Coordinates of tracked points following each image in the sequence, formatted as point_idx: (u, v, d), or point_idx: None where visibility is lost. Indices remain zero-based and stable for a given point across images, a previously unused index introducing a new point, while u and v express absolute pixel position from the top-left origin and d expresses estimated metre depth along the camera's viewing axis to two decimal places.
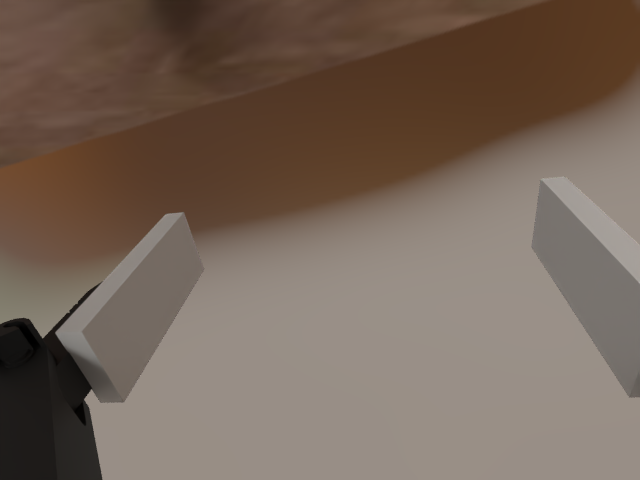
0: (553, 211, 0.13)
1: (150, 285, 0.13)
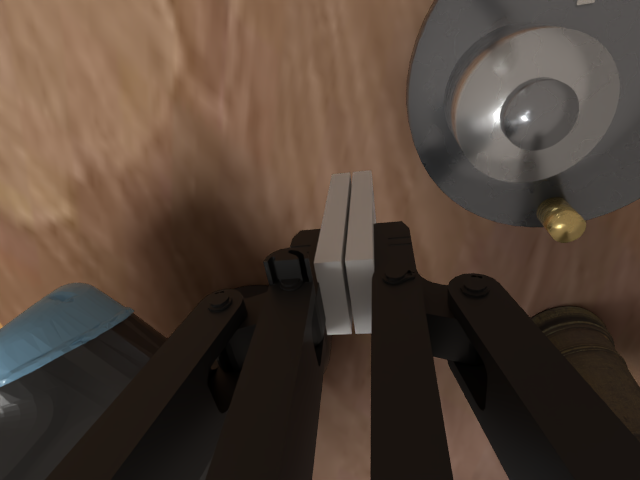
0: None
1: None
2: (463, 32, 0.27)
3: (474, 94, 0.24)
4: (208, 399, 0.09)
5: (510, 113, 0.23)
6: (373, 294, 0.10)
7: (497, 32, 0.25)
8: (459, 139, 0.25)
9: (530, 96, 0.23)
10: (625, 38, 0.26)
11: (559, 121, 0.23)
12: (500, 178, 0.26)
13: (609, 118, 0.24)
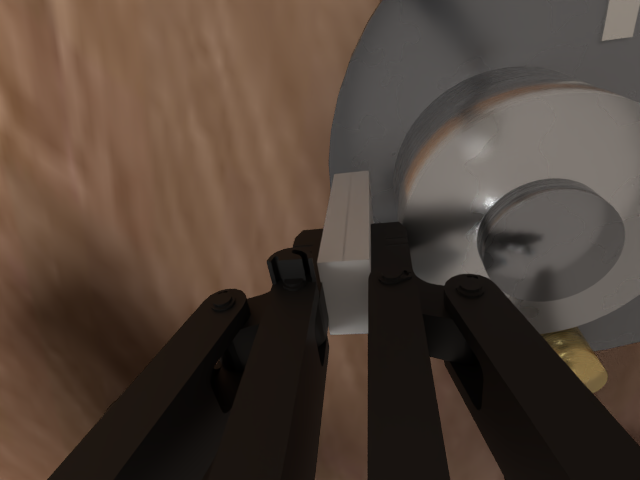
0: None
1: None
2: (409, 81, 0.16)
3: (430, 202, 0.13)
4: (211, 399, 0.09)
5: (495, 243, 0.12)
6: (369, 294, 0.10)
7: (475, 84, 0.15)
8: None
9: (533, 217, 0.12)
10: None
11: (586, 259, 0.12)
12: None
13: None
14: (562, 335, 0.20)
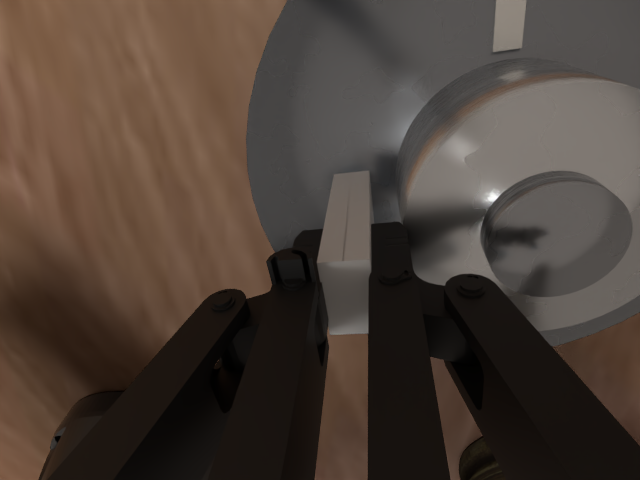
0: None
1: None
2: (315, 91, 0.16)
3: (431, 199, 0.13)
4: (211, 399, 0.09)
5: (498, 239, 0.12)
6: (370, 294, 0.10)
7: (474, 77, 0.14)
8: None
9: (536, 211, 0.12)
10: None
11: (593, 252, 0.12)
12: None
13: None
14: None
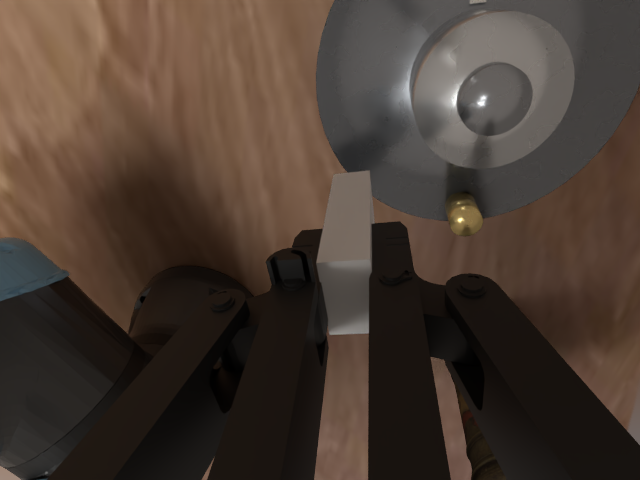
0: None
1: None
2: (364, 24, 0.27)
3: (430, 78, 0.24)
4: (210, 399, 0.09)
5: (464, 97, 0.23)
6: (370, 294, 0.10)
7: (458, 17, 0.25)
8: (417, 123, 0.25)
9: (483, 80, 0.23)
10: None
11: (513, 106, 0.23)
12: (459, 164, 0.26)
13: (565, 105, 0.24)
14: (460, 198, 0.32)
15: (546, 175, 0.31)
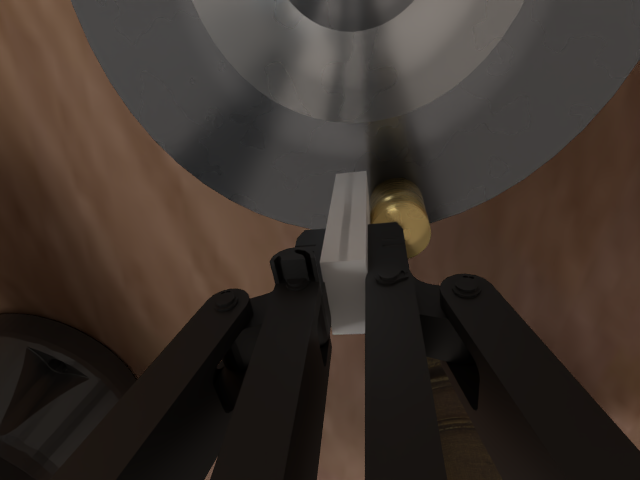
0: None
1: None
2: None
3: None
4: (213, 399, 0.09)
5: None
6: (367, 294, 0.10)
7: None
8: (214, 40, 0.11)
9: None
10: None
11: None
12: (333, 117, 0.12)
13: None
14: (387, 191, 0.17)
15: (542, 122, 0.16)
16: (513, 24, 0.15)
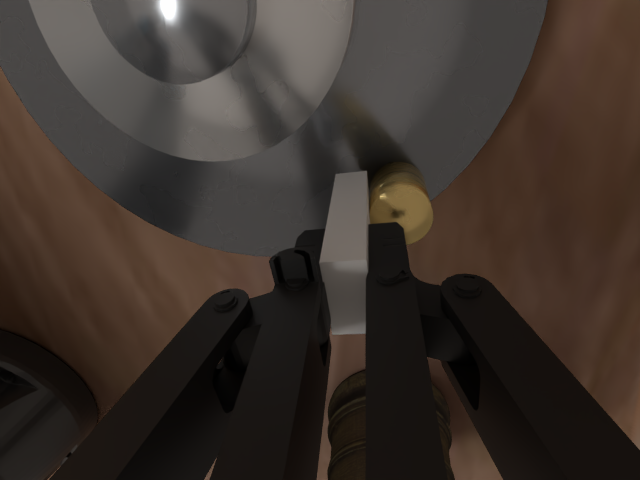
0: None
1: None
2: (50, 59, 0.17)
3: (76, 56, 0.12)
4: (213, 399, 0.09)
5: (118, 39, 0.10)
6: (367, 294, 0.10)
7: None
8: (138, 139, 0.13)
9: None
10: None
11: None
12: (258, 148, 0.12)
13: None
14: (376, 182, 0.17)
15: (494, 36, 0.14)
16: None
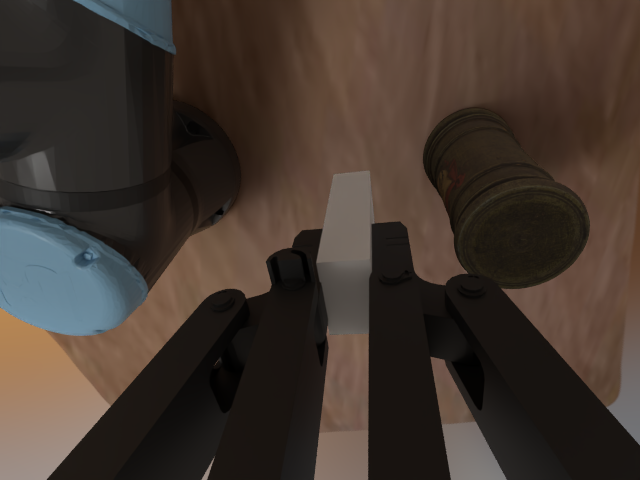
0: None
1: None
2: None
3: None
4: (210, 399, 0.09)
5: None
6: (370, 294, 0.10)
7: None
8: None
9: None
10: None
11: None
12: None
13: None
14: None
15: None
16: None
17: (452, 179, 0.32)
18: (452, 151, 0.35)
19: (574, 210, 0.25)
